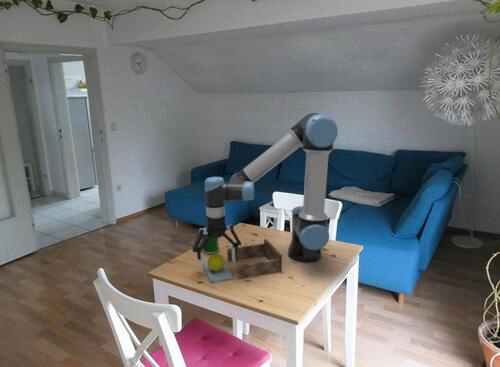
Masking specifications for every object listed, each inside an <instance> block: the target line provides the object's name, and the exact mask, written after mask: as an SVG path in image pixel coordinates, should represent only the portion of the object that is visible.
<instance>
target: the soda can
mask: <svg viewBox="0 0 500 367" xmlns="http://www.w3.org/2000/svg"><path fill="white" fill-rule="evenodd" d="M206 228H207V226H205V227H203V229H206ZM207 234H208V233H207V232H205V233H204V234H203V237H202V239H201V242H202V241H203V240H204V239H205V237H206V235H207ZM219 246H220V243H219V237H217V238H211V240H209V242H208V243H207V244H206V246H205V247H204V248H203V250H202V253H204V254H206V255H213V254H217V253H218V252H219V250H220V249H219Z"/></svg>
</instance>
